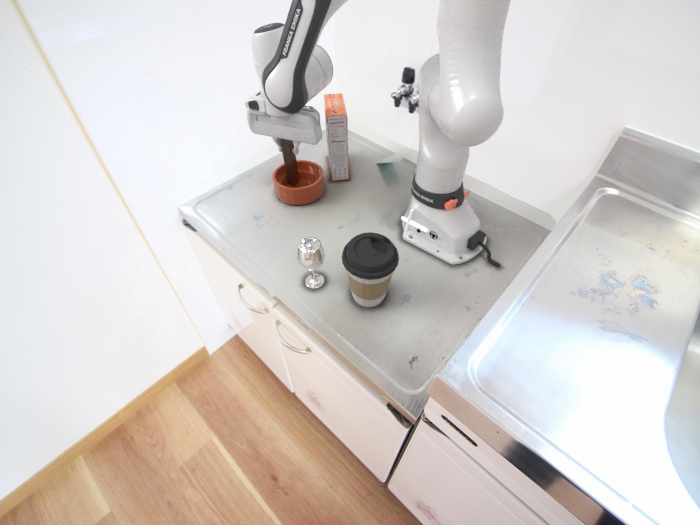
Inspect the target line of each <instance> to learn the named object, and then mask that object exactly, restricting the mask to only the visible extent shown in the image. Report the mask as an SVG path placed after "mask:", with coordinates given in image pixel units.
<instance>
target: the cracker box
mask: <svg viewBox="0 0 700 525" xmlns="http://www.w3.org/2000/svg"><path fill="white" fill-rule="evenodd" d="M323 108H324V109H323V110H324V122H325V123H324V124H325V132H326V133H325V135H326V144H327V146H326V147H327V158H328V165H329V171H330V173H329V174H330V179H331V181H332V182H335V181H336V182H337V181H345V180H347V181H348V180H350V163H349V160H350V159H349V130H348V129H349V128H348V126H349V125H348V113H347V109H346V104H345V100H344V95H343V93H325V94H323Z"/></svg>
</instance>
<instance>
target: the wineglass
mask: <svg viewBox="0 0 700 525" xmlns="http://www.w3.org/2000/svg"><path fill="white" fill-rule="evenodd" d="M325 257H326V255H325V249H324V247H323V244H322V243H321V240H319V239H318V238H316V237H313V236H310V237H304V238H303V239H301V241H299V243H298V247H297V261H298V263H299V265H300V266H301V267H302V268H303V269H305V270H308V271H311V272H312V273H311V274H309V275H308V276H307V277H306V278H305V281H304V282H305V285H306V286H307V287H308V288H310V289H314V290H315V289H319V288H321V287H322V286H323V285H324V283H325V277H324V276H323V275H322V274H321V273H316V270H318V269H319V268H321V267H322V266H323V265H324V263H325Z"/></svg>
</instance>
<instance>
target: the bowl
mask: <svg viewBox="0 0 700 525" xmlns="http://www.w3.org/2000/svg"><path fill="white" fill-rule="evenodd" d="M296 160H297V167H298V174H299V180H300V181H299V183H298V184H297V185H296V186H293V185H289V184H288V181H287V176H286V170H285V164H284V163H282V164H280V165H279V166H277V167H276V168H275V169H274V170H273V172H272V176H271V177H272V178H271V179H272V182H273V188H274V192H275V195H276V197H277V199H279V200H280V201H281V202H283V203H285V204H288V205H294V206H301V205H307V204H310V203H313V202H315V201H317V200H318V199H319V198H321V197H322V196H324V192H325V175H324V173H325V172H324V170H323V167H322V166H321V165H319V164H318V163H317V162H314V161H311V160H306V159H296Z"/></svg>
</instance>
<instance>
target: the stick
mask: <svg viewBox="0 0 700 525" xmlns="http://www.w3.org/2000/svg"><path fill="white" fill-rule="evenodd" d="M280 142H281V148H282V152H281V153H282V159H283V164H285V170H286V176H287V181H288V184H289V185H293V186H296V185H297V184H298V183H299V181H300V180H299V174H298V167H297V160H298V159H297V155H295V154H292V153H291V148H292V147H293V146H295V144H293V141H291V140H286V139H281V138H280Z"/></svg>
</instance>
